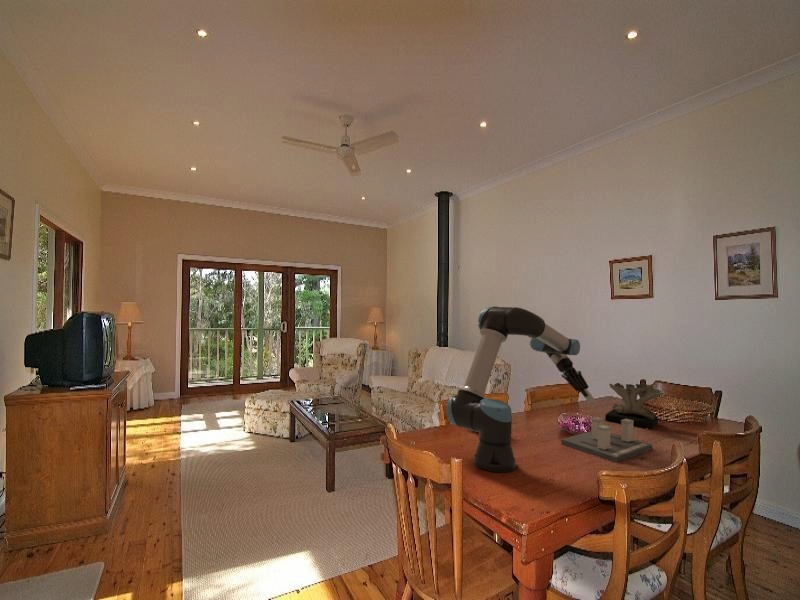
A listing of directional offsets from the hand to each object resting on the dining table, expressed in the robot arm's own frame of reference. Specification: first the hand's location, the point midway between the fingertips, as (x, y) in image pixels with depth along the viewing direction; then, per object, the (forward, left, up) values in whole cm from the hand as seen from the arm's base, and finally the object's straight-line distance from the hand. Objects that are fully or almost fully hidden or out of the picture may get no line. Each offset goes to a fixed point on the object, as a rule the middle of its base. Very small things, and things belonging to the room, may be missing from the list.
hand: (592, 402), depth 189 cm
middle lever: (-9, -8, -13) cm, 18 cm away
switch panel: (-9, -12, -15) cm, 21 cm away
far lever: (0, -16, -13) cm, 21 cm away
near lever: (-18, -16, -13) cm, 27 cm away
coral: (+35, -1, -16) cm, 38 cm away
